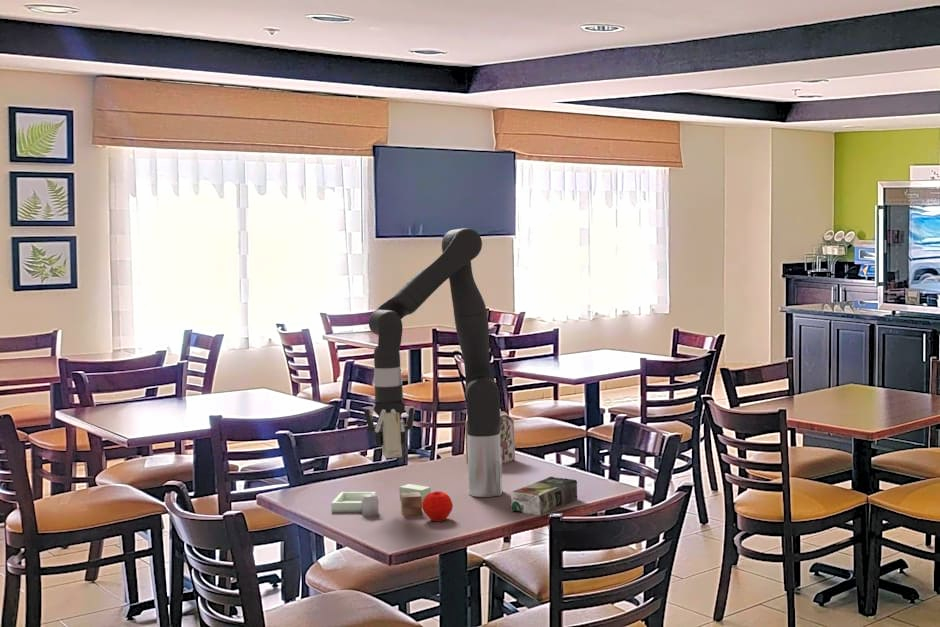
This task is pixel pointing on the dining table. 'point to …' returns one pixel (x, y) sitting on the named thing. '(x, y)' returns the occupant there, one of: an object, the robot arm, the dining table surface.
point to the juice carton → (544, 495)
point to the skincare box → (391, 435)
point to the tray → (348, 502)
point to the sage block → (415, 490)
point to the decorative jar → (502, 438)
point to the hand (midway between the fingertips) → (391, 444)
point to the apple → (437, 505)
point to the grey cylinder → (369, 504)
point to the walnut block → (411, 503)
